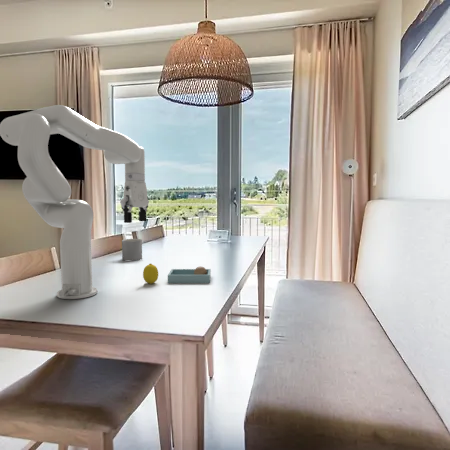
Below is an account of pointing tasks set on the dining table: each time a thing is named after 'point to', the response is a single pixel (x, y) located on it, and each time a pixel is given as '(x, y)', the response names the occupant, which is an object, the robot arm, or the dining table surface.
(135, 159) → the robot arm
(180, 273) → the trough
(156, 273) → the lemon
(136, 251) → the coffee mug
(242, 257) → the dining table surface
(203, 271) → the walnut ball
